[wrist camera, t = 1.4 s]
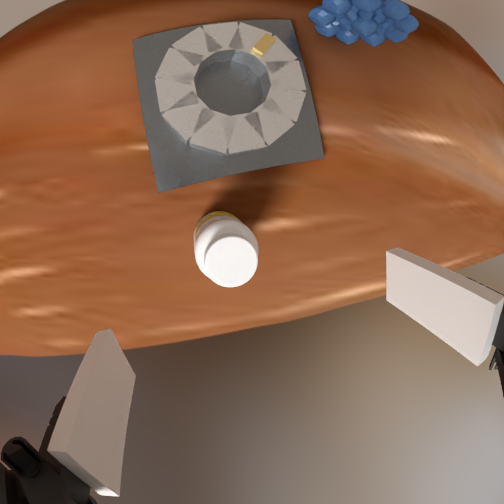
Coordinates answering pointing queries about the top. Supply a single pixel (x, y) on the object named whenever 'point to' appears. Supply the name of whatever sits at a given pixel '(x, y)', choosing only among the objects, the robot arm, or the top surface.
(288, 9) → the top surface
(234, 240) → the supplement bottle
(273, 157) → the hub plate
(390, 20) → the grapes
